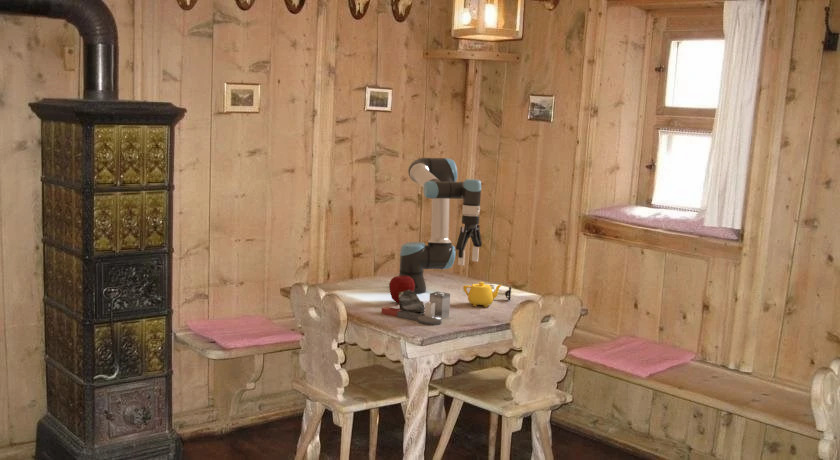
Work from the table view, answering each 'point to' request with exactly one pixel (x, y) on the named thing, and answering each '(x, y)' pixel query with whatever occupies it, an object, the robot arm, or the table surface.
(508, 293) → the valve
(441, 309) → the grey upright rectangular block
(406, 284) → the apple
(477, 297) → the teapot
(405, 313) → the ratchet
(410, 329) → the table surface
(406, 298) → the rock
